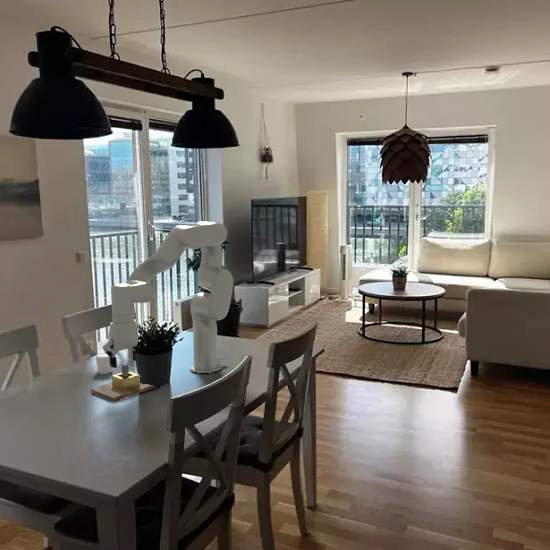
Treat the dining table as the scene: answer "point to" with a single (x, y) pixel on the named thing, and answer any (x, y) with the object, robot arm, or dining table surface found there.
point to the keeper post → (125, 371)
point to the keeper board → (118, 391)
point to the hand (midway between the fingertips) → (125, 363)
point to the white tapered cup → (103, 363)
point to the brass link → (125, 381)
